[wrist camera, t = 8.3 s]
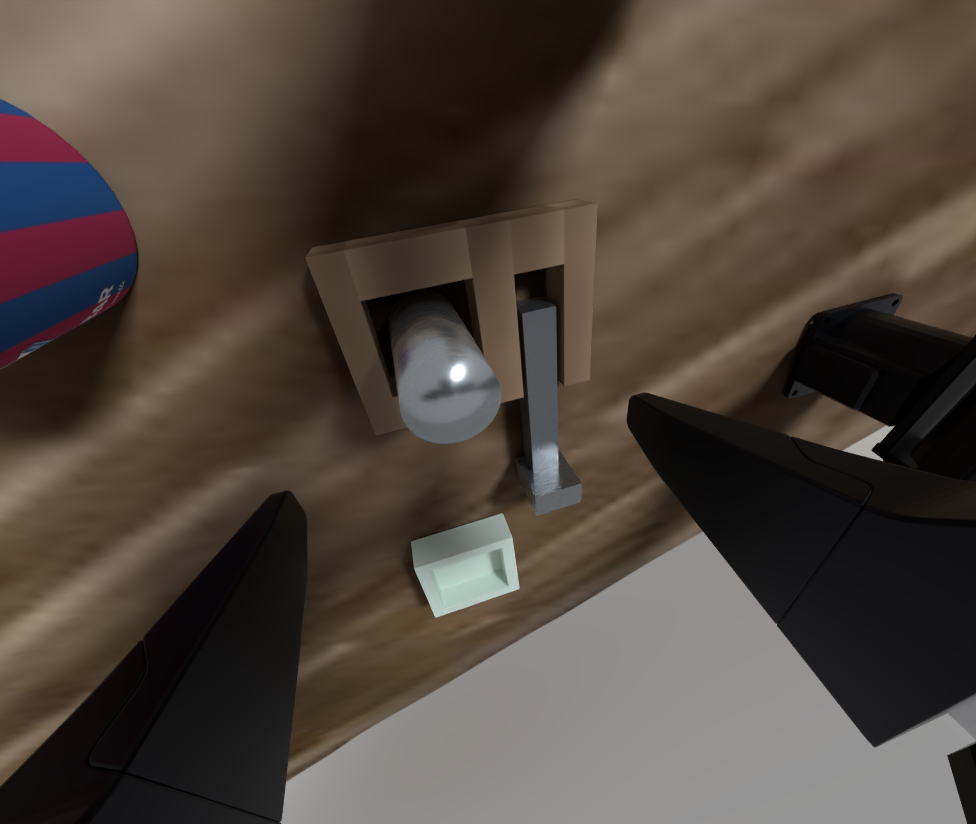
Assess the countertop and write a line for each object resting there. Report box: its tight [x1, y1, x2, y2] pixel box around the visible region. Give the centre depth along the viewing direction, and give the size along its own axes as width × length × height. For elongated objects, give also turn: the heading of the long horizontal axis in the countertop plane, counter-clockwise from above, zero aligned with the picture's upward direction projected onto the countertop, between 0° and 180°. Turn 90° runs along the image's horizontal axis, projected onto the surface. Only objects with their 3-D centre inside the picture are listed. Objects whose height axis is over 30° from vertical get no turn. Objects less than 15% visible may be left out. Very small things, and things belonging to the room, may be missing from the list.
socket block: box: [305, 200, 598, 436], centre depth 16 cm, size 11×8×2 cm
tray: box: [411, 513, 519, 617], centre depth 26 cm, size 7×7×2 cm
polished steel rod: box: [389, 290, 501, 444], centre depth 14 cm, size 3×3×7 cm
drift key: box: [515, 296, 582, 516], centre depth 19 cm, size 3×12×3 cm, turn 7°
